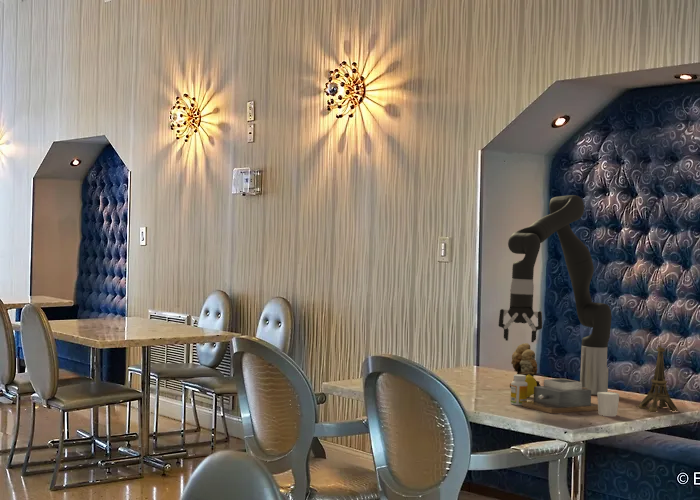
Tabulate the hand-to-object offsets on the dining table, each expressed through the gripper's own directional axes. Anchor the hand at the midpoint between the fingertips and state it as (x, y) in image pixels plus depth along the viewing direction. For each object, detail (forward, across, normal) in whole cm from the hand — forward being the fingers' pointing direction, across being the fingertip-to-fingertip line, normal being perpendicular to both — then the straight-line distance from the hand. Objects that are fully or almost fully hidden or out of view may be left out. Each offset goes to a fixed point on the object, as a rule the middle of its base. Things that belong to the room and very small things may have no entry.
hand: (519, 341), depth 329 cm
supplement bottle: (+21, -1, 0) cm, 21 cm away
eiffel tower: (+21, -46, -13) cm, 52 cm away
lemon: (+21, -2, -18) cm, 27 cm away
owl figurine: (+21, +1, -39) cm, 45 cm away
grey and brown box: (+21, -15, +1) cm, 26 cm away
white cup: (+21, -30, +7) cm, 37 cm away
